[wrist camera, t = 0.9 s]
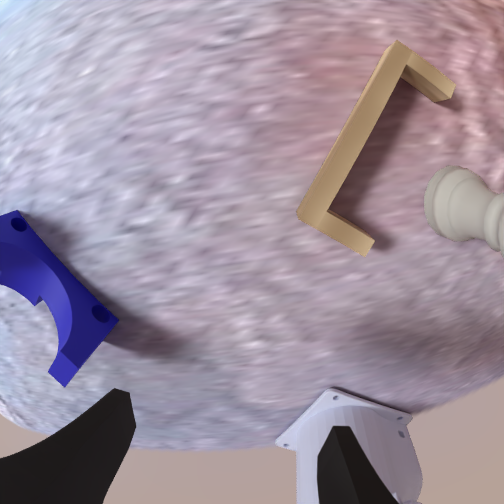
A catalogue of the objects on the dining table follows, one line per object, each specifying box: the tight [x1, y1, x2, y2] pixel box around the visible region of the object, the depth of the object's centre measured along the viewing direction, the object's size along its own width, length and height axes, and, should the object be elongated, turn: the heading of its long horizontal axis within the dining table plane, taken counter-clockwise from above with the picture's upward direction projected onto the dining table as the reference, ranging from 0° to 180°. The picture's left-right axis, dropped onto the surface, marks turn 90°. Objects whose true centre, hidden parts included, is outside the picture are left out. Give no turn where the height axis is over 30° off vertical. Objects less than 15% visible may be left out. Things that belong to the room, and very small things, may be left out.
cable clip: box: [0, 210, 119, 387], centre depth 17 cm, size 12×4×6 cm, turn 46°
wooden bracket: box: [296, 40, 456, 257], centre depth 14 cm, size 4×11×2 cm, turn 153°
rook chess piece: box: [424, 166, 504, 258], centre depth 12 cm, size 4×4×8 cm
